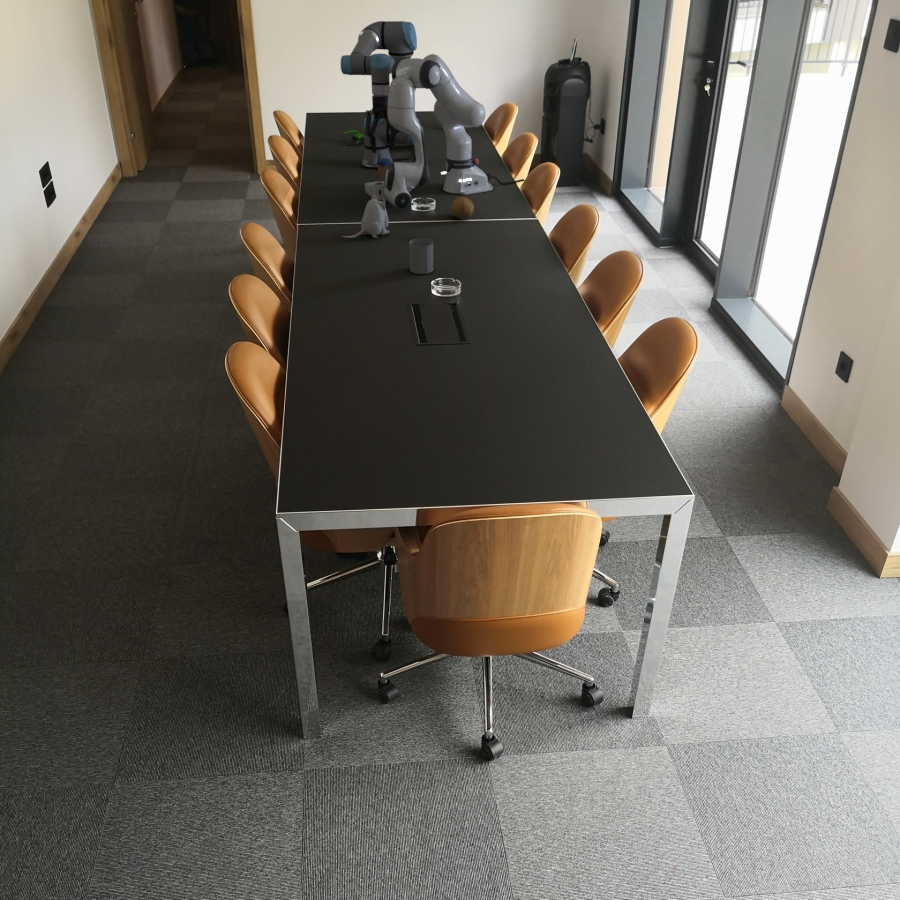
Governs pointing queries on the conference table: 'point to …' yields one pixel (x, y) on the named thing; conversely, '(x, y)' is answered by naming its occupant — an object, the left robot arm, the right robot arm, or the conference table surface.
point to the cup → (421, 256)
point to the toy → (374, 219)
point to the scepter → (355, 137)
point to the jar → (381, 172)
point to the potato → (462, 208)
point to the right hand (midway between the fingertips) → (383, 181)
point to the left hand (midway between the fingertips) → (383, 151)
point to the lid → (383, 162)
